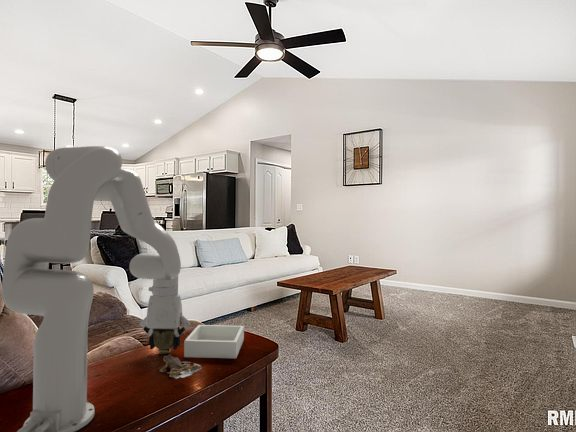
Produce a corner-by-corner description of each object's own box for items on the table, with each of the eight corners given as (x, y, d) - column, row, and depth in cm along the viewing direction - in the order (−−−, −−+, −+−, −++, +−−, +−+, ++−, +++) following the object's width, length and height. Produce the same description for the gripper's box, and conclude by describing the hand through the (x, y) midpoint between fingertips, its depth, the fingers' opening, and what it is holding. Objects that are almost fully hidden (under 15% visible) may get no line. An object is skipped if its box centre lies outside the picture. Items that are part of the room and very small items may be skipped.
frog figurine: (145, 375, 98) (145, 361, 98) (177, 360, 109) (177, 347, 109) (176, 385, 93) (176, 370, 93) (207, 367, 103) (207, 354, 103)
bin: (236, 358, 109) (236, 342, 109) (184, 357, 109) (184, 340, 109) (243, 340, 125) (244, 325, 125) (198, 339, 125) (198, 324, 125)
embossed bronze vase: (180, 349, 116) (181, 324, 116) (171, 358, 108) (171, 331, 108) (158, 347, 116) (159, 323, 116) (147, 356, 109) (148, 330, 109)
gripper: (132, 293, 109) (131, 351, 109) (189, 294, 109) (188, 353, 109) (143, 288, 116) (142, 343, 116) (196, 289, 116) (195, 344, 116)
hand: (164, 347), depth 112 cm, fingers closed on embossed bronze vase, 6 cm apart
